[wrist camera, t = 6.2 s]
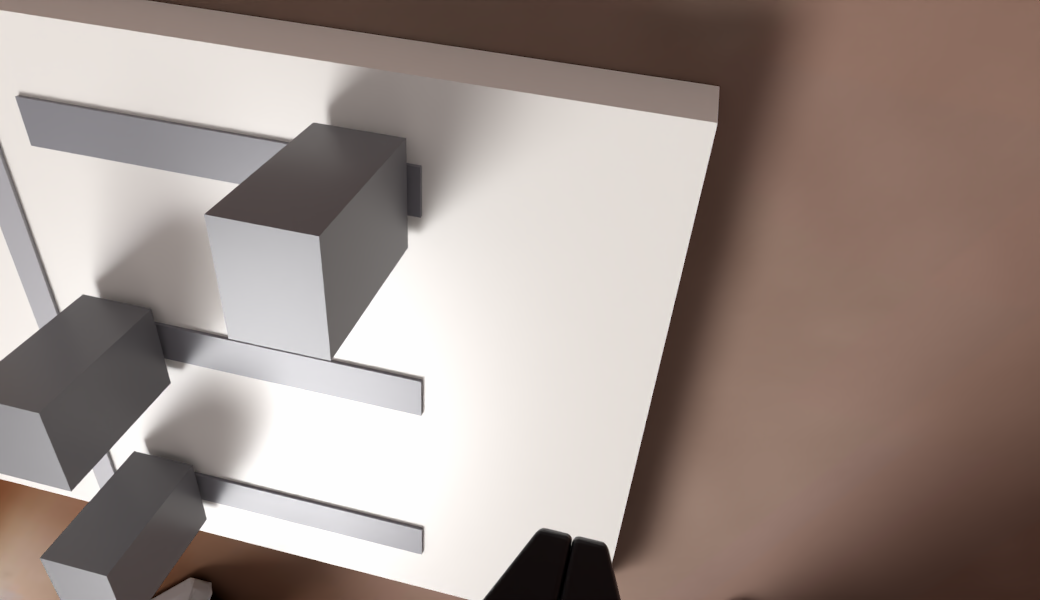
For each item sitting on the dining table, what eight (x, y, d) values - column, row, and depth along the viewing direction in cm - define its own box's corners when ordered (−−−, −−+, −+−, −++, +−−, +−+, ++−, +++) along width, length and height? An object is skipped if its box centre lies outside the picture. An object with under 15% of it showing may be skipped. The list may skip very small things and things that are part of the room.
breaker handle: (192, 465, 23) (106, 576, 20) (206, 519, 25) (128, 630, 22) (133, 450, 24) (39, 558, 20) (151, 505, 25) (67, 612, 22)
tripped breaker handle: (406, 138, 15) (318, 236, 12) (407, 247, 17) (330, 360, 14) (313, 122, 16) (204, 214, 12) (323, 231, 17) (228, 338, 14)
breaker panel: (719, 86, 16) (717, 125, 14) (604, 578, 26) (595, 634, 24) (-219, -55, 19) (-312, -38, 17) (5, 430, 29) (-41, 470, 27)
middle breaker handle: (151, 308, 20) (38, 413, 17) (170, 383, 21) (71, 491, 18) (82, 294, 20) (-41, 394, 17) (106, 368, 22) (-2, 472, 18)
